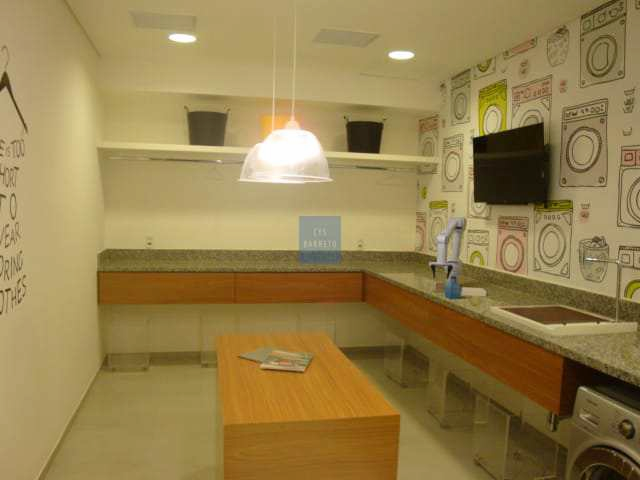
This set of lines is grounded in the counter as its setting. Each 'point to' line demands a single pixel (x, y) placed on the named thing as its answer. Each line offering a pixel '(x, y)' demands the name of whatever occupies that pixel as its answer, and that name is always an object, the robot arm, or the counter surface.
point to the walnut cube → (440, 287)
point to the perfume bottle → (453, 289)
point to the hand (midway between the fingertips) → (440, 278)
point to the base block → (473, 291)
